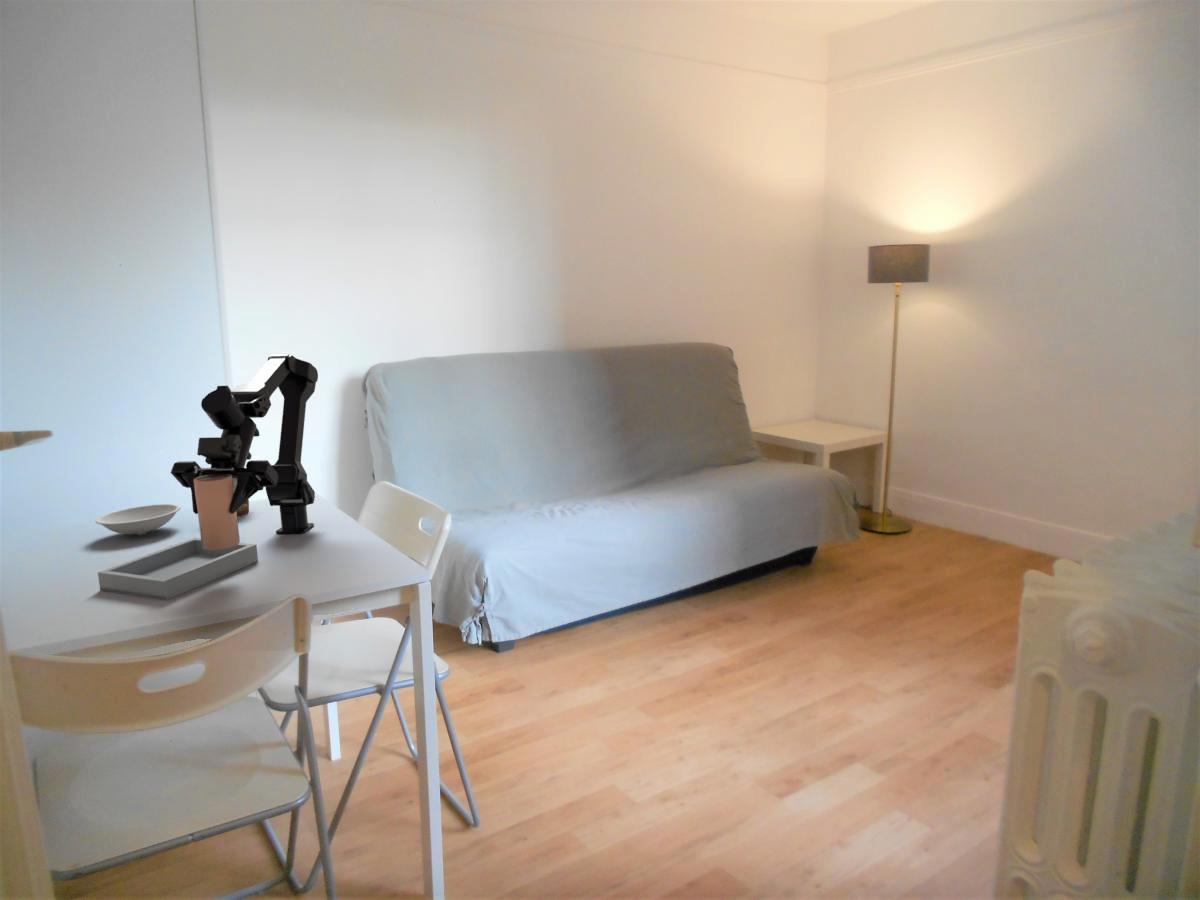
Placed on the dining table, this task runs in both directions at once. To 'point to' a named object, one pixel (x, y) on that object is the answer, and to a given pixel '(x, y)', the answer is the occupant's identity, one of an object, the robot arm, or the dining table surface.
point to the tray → (175, 569)
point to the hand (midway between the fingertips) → (213, 512)
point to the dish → (138, 518)
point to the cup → (216, 511)
